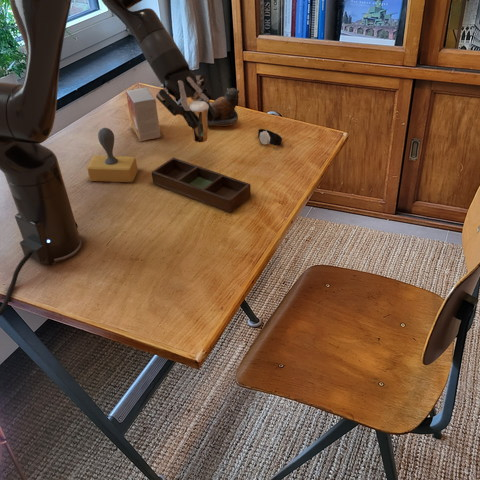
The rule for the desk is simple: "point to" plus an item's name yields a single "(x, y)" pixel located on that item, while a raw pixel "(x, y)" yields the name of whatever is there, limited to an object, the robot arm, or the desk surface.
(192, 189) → the tray
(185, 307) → the desk surface
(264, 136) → the watch
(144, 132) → the small box
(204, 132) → the milkshake
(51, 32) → the robot arm
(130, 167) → the rubber stamp
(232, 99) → the brown animal figure
